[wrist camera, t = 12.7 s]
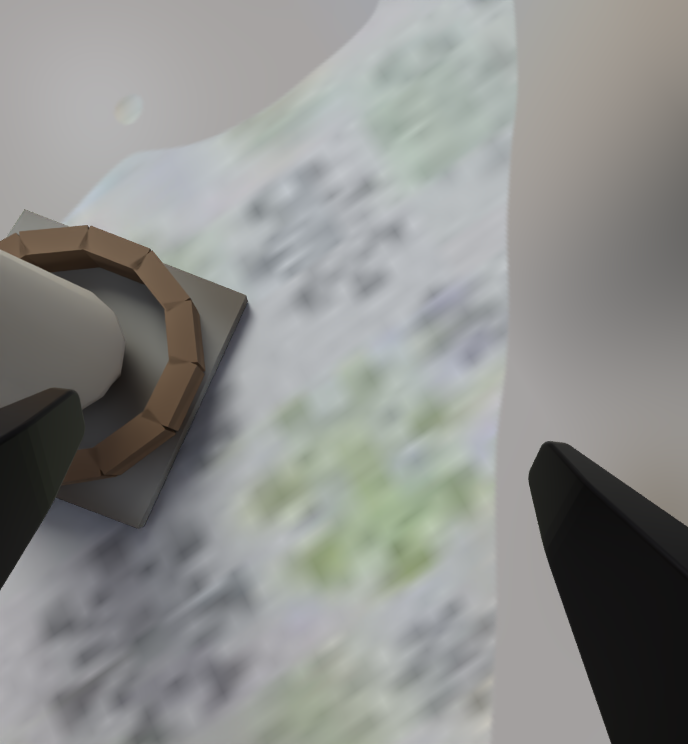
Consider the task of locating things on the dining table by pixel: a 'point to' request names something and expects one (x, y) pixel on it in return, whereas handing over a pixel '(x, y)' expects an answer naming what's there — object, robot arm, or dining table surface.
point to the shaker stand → (134, 359)
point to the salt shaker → (54, 335)
